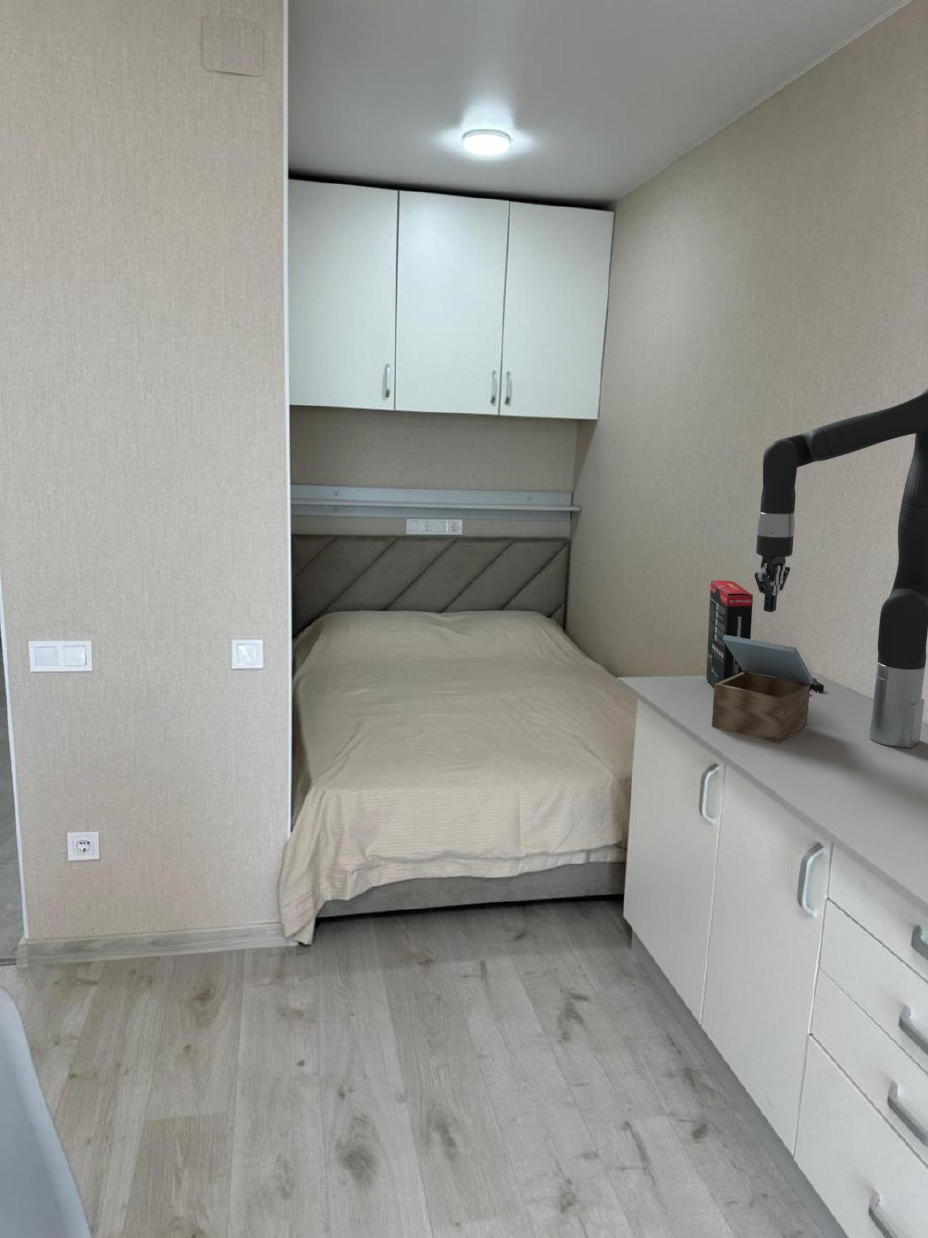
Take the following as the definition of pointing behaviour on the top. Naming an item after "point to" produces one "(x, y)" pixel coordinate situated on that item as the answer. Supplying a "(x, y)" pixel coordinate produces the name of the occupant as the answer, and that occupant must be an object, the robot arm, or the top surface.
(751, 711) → the walnut box
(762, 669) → the lid
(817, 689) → the toy gun
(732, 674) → the graphics card box
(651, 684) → the top surface
